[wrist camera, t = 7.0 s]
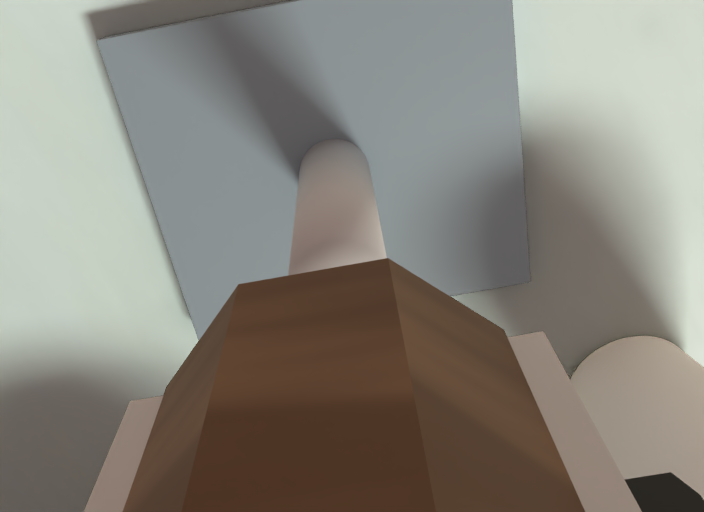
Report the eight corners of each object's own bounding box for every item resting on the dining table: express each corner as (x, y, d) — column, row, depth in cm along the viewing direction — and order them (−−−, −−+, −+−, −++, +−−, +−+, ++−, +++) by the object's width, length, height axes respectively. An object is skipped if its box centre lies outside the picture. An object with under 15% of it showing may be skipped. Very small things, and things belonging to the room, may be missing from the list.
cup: (532, 337, 33) (631, 530, 22) (711, 295, 33) (902, 473, 22) (553, 466, 37) (646, 683, 26) (714, 430, 36) (877, 638, 26)
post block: (201, 328, 32) (147, 502, 22) (104, 36, 26) (-30, 98, 16) (525, 272, 32) (615, 425, 22) (503, -42, 25) (616, -27, 16)
